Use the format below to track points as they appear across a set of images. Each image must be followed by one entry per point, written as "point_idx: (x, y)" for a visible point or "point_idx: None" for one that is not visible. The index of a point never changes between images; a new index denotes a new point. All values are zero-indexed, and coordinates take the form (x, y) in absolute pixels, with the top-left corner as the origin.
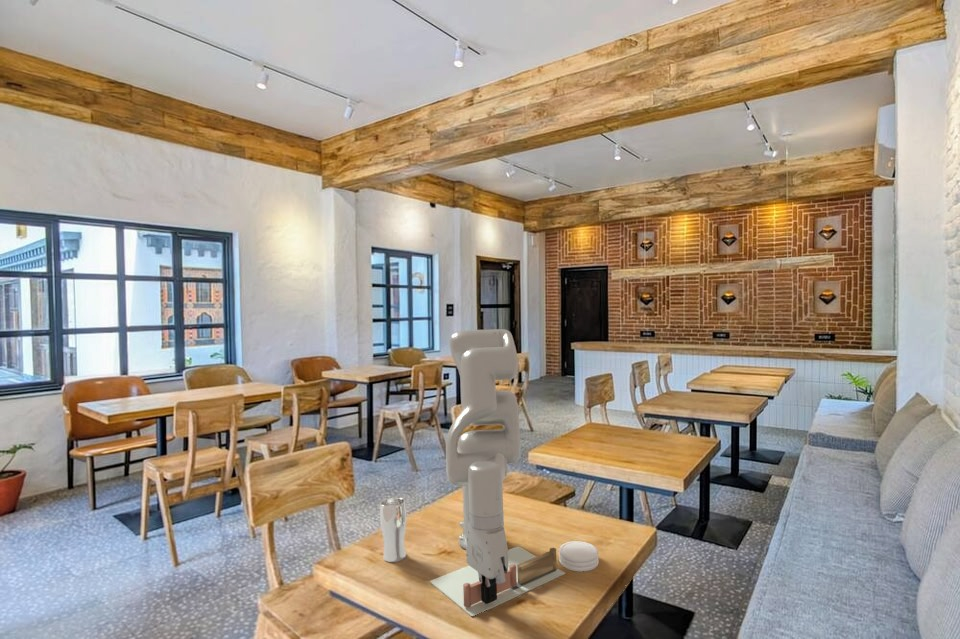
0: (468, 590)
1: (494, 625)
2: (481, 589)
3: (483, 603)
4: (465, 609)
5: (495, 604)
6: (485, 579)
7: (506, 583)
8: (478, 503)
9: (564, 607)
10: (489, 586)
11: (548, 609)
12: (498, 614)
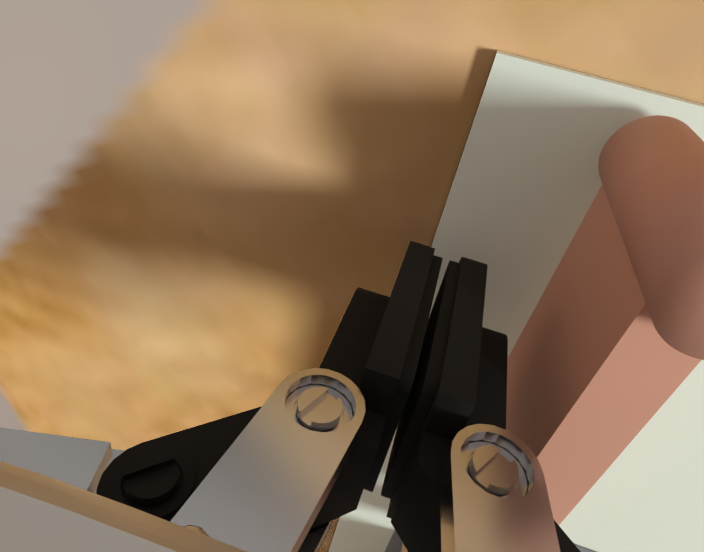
0: (650, 236)
1: (239, 90)
2: (468, 344)
3: (516, 286)
4: (646, 107)
5: None
6: (424, 490)
7: None
8: None
9: (114, 444)
10: (295, 388)
11: (146, 407)
12: (322, 234)
